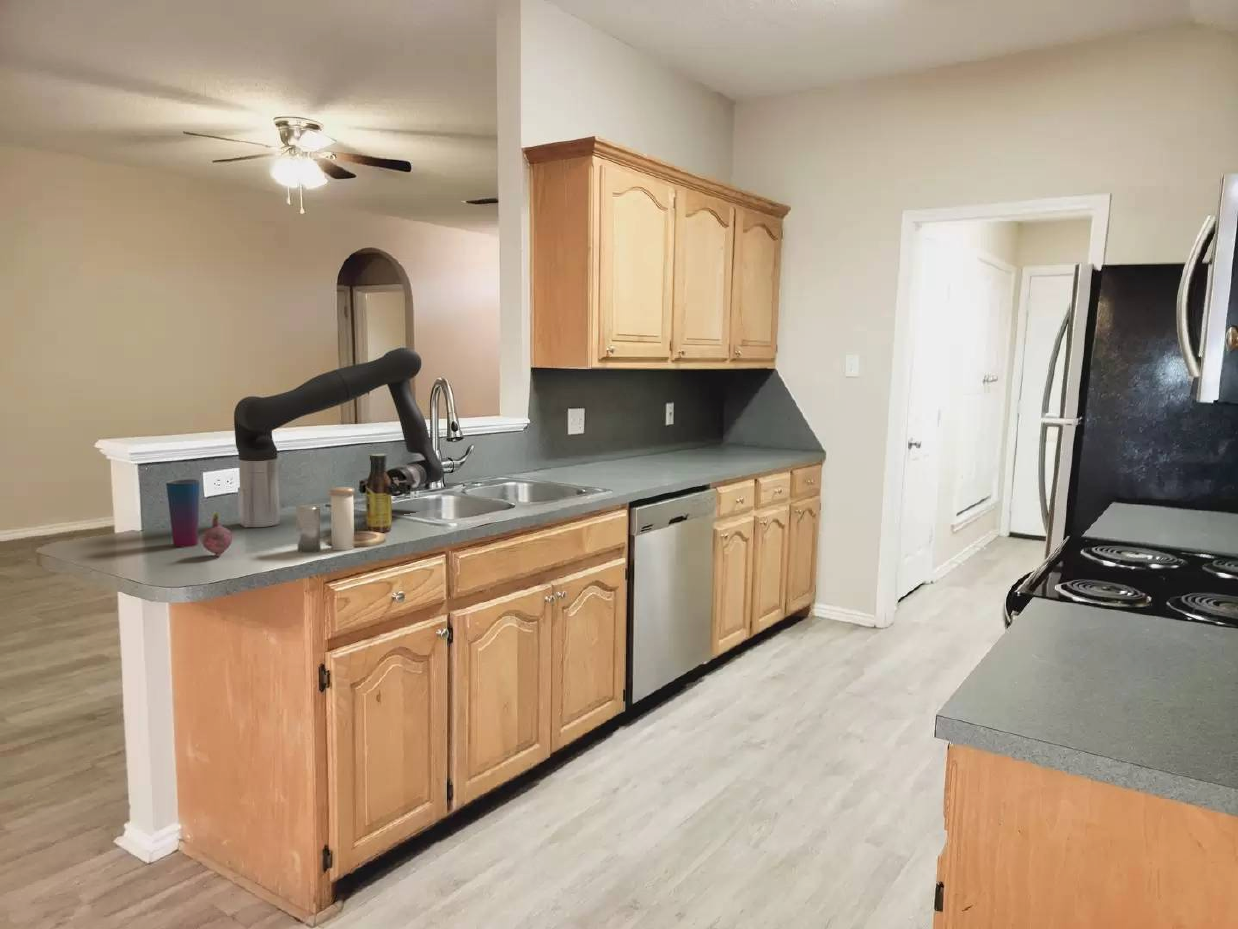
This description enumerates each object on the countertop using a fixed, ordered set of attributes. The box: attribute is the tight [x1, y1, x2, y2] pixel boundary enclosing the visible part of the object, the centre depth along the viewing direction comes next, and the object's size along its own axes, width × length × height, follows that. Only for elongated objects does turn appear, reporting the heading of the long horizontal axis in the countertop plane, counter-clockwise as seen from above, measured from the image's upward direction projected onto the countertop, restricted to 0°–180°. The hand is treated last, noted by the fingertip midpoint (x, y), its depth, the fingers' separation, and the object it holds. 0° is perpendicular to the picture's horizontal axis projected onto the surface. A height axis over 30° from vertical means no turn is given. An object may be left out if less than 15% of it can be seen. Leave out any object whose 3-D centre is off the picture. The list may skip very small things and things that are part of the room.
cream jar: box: [328, 486, 356, 552], centre depth 194 cm, size 6×6×14 cm
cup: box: [165, 478, 200, 548], centre depth 194 cm, size 7×7×15 cm
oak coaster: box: [328, 530, 387, 548], centre depth 203 cm, size 13×13×1 cm
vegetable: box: [201, 511, 234, 556], centre depth 185 cm, size 6×6×10 cm
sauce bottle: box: [365, 452, 393, 533], centre depth 213 cm, size 7×6×20 cm
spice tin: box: [296, 504, 322, 553], centre depth 192 cm, size 5×5×10 cm
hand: (374, 489), depth 211 cm, fingers open, 6 cm apart
